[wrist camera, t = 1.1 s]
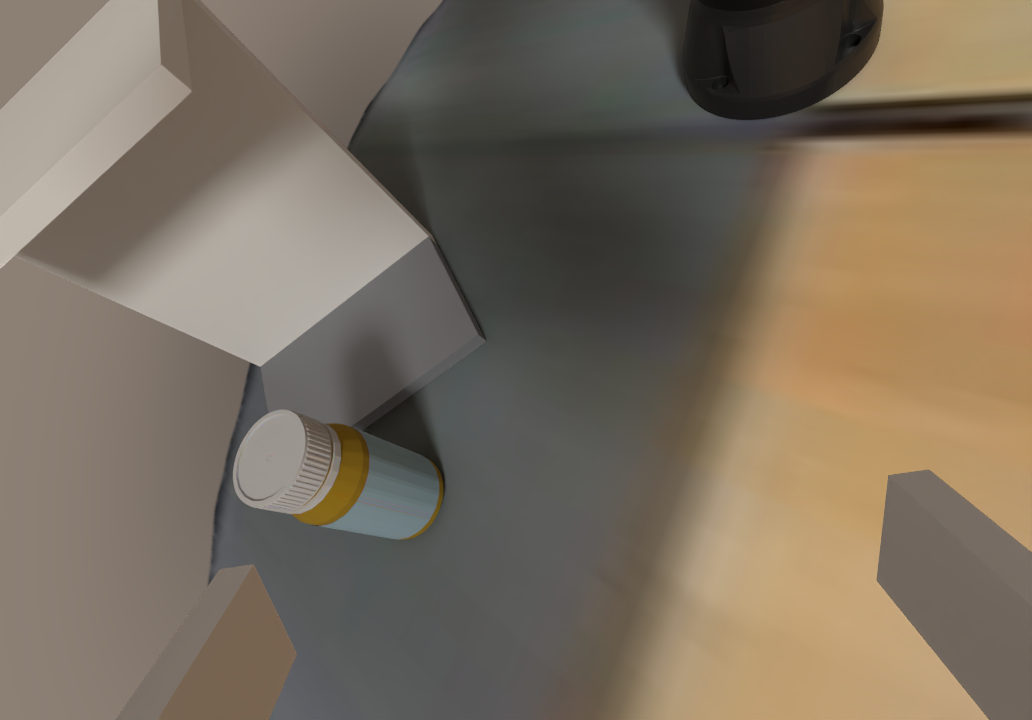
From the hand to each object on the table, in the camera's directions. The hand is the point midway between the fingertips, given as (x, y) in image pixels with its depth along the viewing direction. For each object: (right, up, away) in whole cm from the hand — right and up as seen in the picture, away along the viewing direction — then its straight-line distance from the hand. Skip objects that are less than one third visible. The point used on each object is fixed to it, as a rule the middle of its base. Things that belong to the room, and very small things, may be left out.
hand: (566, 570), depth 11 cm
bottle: (-10, -7, +34) cm, 36 cm away
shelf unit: (-17, +5, +43) cm, 47 cm away
